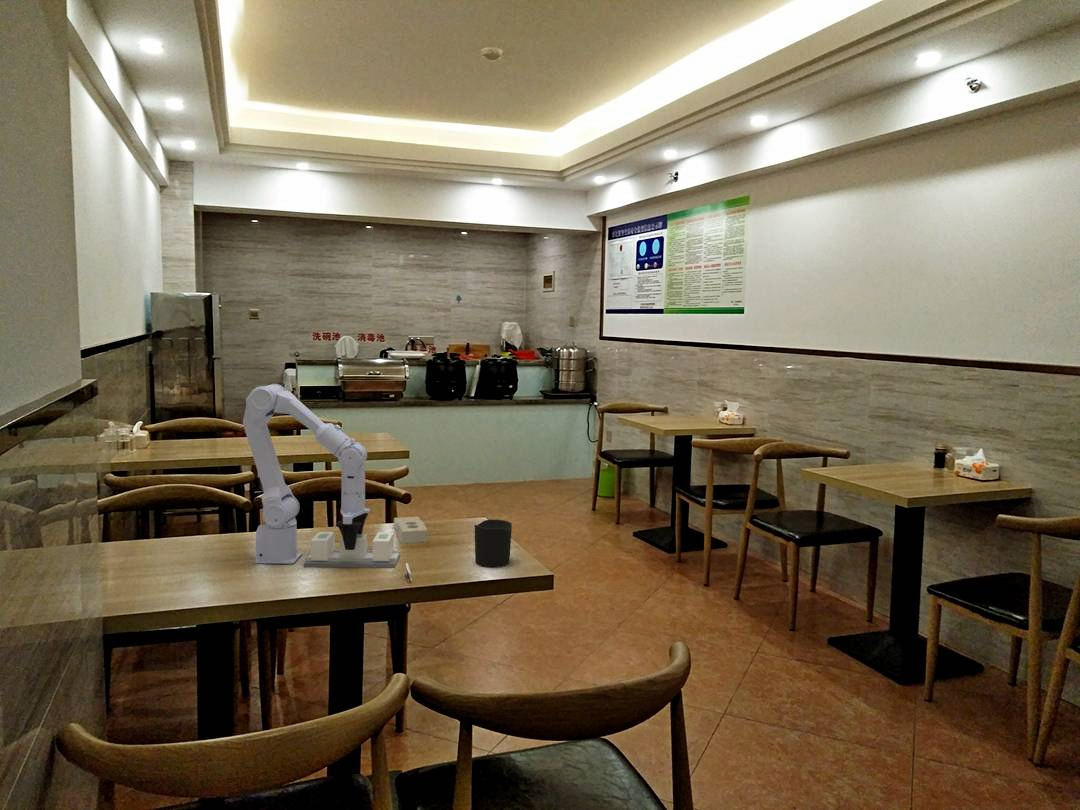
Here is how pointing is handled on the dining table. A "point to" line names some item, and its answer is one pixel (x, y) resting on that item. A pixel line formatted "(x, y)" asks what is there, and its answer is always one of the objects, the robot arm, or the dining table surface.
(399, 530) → the electrical outlet
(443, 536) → the dining table surface
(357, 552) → the block
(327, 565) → the grey stepped base
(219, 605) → the dining table surface
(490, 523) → the pen holder
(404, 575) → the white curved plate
